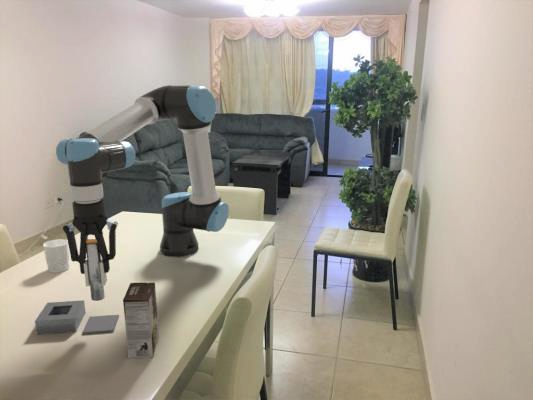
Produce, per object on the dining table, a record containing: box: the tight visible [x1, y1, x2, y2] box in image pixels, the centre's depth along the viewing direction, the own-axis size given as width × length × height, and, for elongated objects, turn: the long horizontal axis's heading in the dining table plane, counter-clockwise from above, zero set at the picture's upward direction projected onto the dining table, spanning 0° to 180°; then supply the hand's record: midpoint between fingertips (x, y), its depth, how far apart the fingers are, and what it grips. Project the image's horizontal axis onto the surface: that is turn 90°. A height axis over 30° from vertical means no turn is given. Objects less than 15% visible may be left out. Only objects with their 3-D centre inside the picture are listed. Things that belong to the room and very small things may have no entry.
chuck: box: [34, 299, 86, 335], centre depth 121 cm, size 10×10×4 cm
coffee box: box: [122, 281, 160, 359], centre depth 108 cm, size 9×6×16 cm
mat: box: [82, 314, 120, 335], centre depth 120 cm, size 8×8×1 cm
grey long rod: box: [86, 238, 106, 302], centre depth 116 cm, size 3×3×17 cm
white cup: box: [42, 238, 70, 274], centre depth 154 cm, size 8×8×10 cm
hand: (96, 283), depth 117 cm, fingers closed on grey long rod, 3 cm apart
